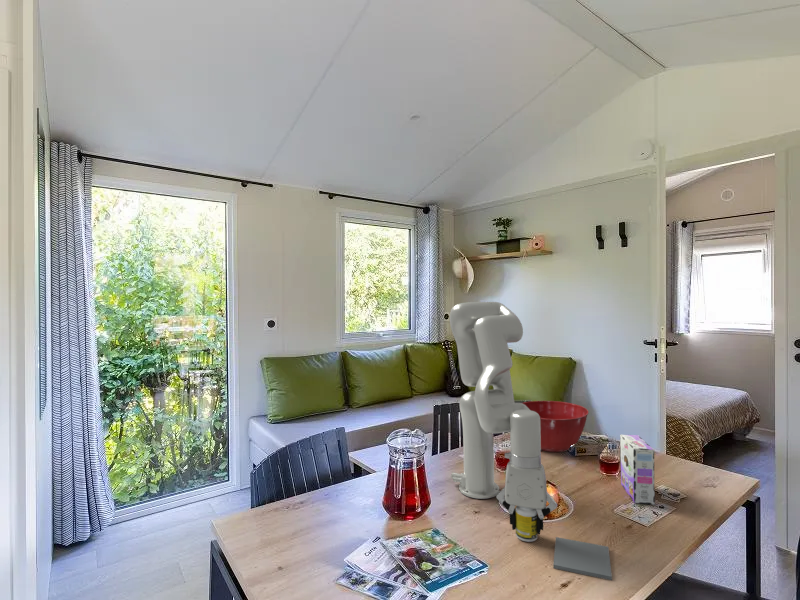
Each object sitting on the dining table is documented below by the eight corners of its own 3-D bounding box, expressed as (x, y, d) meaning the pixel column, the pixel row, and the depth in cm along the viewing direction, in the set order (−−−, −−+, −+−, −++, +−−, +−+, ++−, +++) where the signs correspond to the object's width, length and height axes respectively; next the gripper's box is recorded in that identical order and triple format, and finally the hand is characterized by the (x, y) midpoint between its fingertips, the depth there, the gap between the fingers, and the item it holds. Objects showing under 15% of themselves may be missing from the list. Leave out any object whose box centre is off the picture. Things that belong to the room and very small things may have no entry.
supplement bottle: (534, 545, 108) (533, 505, 108) (513, 538, 111) (512, 500, 111) (540, 534, 113) (539, 497, 112) (519, 528, 115) (518, 492, 115)
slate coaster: (553, 568, 99) (553, 564, 99) (555, 540, 110) (555, 536, 110) (611, 580, 94) (611, 576, 94) (608, 549, 105) (608, 546, 105)
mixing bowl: (518, 458, 165) (518, 417, 165) (512, 433, 193) (511, 399, 193) (597, 461, 160) (597, 419, 160) (579, 436, 188) (578, 400, 188)
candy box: (655, 505, 127) (655, 449, 126) (633, 504, 128) (633, 448, 128) (639, 485, 140) (639, 434, 140) (619, 483, 141) (619, 433, 141)
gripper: (489, 460, 111) (490, 530, 111) (560, 469, 105) (561, 544, 105) (494, 450, 118) (495, 516, 118) (561, 458, 112) (562, 528, 112)
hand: (526, 528), depth 112 cm, fingers closed on supplement bottle, 5 cm apart
